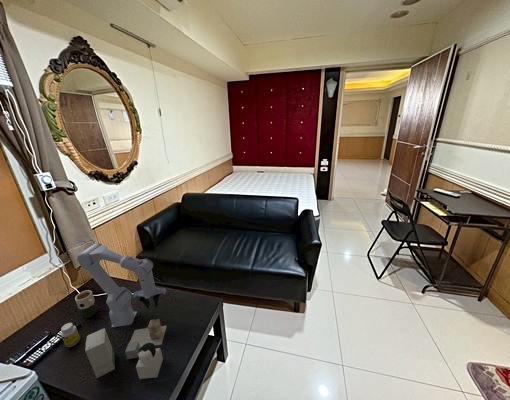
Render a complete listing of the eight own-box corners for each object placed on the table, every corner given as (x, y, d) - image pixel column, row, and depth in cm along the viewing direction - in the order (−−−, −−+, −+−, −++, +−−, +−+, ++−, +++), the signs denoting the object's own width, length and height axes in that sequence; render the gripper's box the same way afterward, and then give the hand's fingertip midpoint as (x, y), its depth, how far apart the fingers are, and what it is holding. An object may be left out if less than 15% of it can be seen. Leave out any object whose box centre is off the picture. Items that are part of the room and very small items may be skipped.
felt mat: (126, 350, 95) (126, 349, 95) (135, 330, 105) (135, 329, 104) (161, 344, 97) (161, 344, 97) (166, 325, 107) (166, 325, 106)
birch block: (151, 340, 99) (147, 327, 97) (153, 332, 103) (150, 320, 100) (159, 338, 100) (156, 326, 97) (162, 331, 103) (159, 318, 101)
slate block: (127, 359, 91) (125, 351, 90) (131, 350, 95) (128, 342, 93) (137, 358, 92) (135, 350, 90) (140, 349, 96) (138, 341, 94)
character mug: (76, 316, 113) (68, 297, 108) (90, 306, 119) (83, 287, 115) (90, 322, 109) (83, 302, 105) (103, 311, 116) (97, 292, 111)
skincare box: (114, 369, 88) (105, 342, 82) (95, 379, 84) (84, 352, 79) (114, 352, 94) (105, 326, 89) (96, 361, 91) (86, 335, 86)
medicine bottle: (146, 360, 91) (140, 340, 87) (163, 359, 91) (158, 339, 87) (139, 379, 84) (132, 358, 80) (157, 377, 85) (152, 356, 81)
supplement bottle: (64, 349, 96) (57, 333, 93) (67, 339, 101) (60, 324, 97) (78, 344, 98) (72, 328, 95) (81, 334, 103) (75, 319, 100)
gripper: (128, 292, 96) (134, 314, 101) (161, 288, 98) (165, 310, 103) (134, 281, 103) (139, 303, 107) (165, 277, 105) (169, 299, 109)
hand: (152, 305), depth 106 cm, fingers open, 3 cm apart
